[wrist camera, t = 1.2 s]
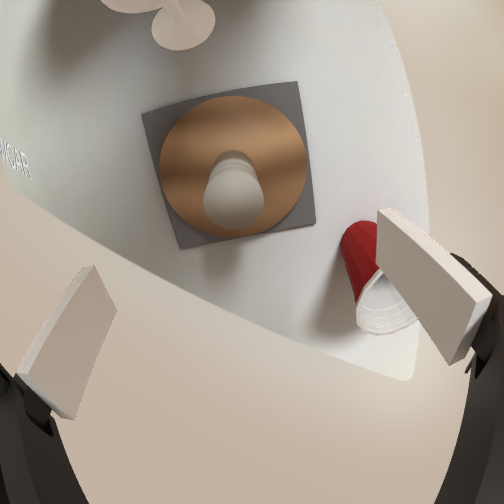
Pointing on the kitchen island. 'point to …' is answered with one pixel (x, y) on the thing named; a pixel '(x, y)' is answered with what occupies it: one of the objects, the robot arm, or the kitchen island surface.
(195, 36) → the champagne flute
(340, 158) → the kitchen island surface
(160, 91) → the kitchen island surface
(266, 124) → the lid
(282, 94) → the mat
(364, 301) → the plastic cup
